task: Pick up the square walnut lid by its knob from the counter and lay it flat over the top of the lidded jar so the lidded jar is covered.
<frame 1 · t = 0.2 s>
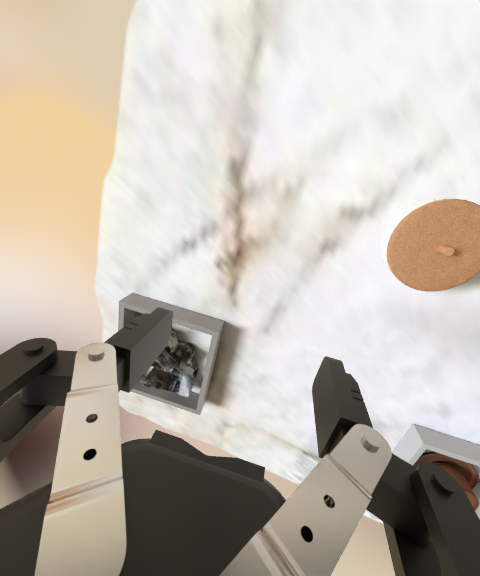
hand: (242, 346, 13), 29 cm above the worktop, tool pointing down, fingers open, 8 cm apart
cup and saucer: (435, 466, 50), on the worktop
foil frame: (171, 350, 51), on the worktop
lidded jar: (410, 237, 35), on the worktop
foil: (171, 349, 52), on the worktop
grey square tray: (436, 468, 49), on the worktop
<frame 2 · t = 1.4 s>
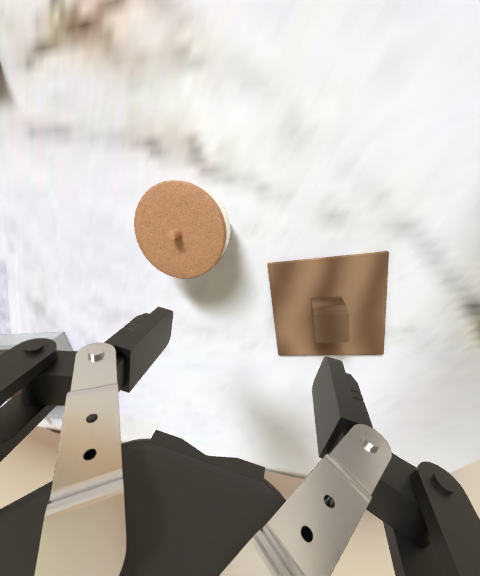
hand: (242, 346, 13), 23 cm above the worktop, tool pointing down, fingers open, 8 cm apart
walnut lid: (325, 306, 36), on the worktop
lidded jar: (201, 224, 34), on the worktop
grey square tray: (47, 369, 52), on the worktop
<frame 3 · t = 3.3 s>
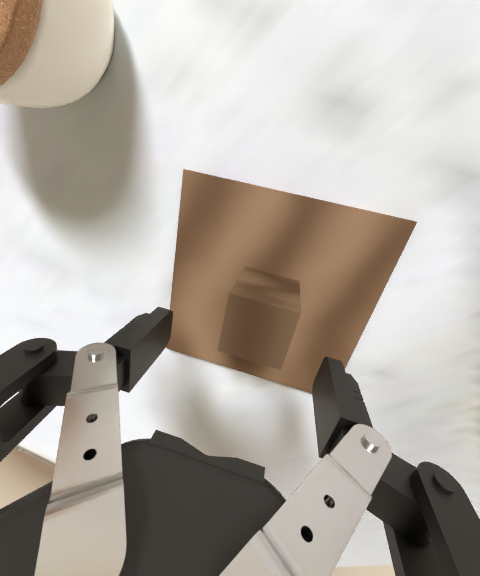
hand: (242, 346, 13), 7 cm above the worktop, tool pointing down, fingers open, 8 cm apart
walnut lid: (267, 291, 20), on the worktop
lidded jar: (72, 29, 15), on the worktop
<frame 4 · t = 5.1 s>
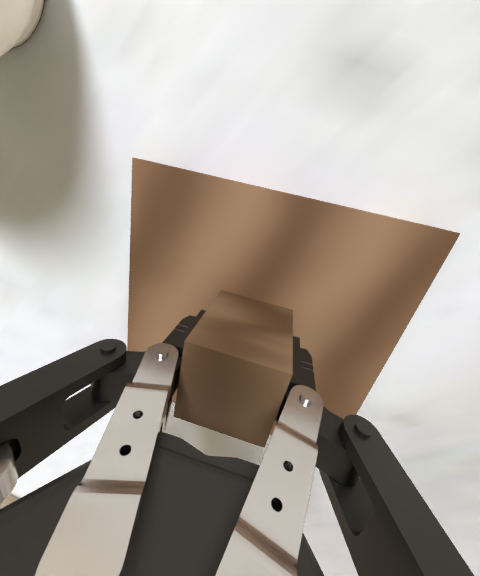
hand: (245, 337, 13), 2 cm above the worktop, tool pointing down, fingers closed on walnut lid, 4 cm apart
walnut lid: (251, 320, 15), on the worktop, touching gripper
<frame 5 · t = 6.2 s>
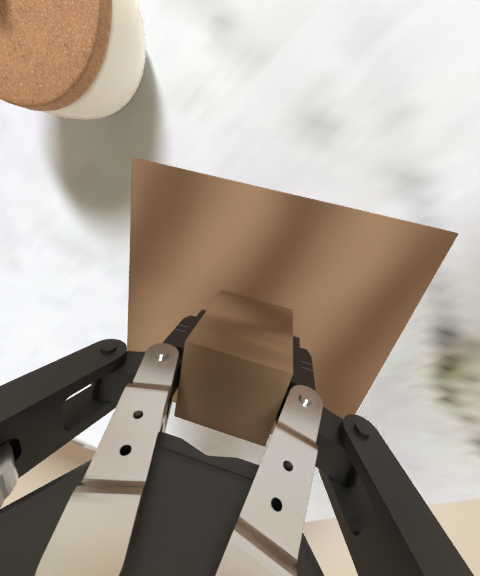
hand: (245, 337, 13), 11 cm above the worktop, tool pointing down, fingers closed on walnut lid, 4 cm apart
walnut lid: (251, 319, 15), point 9 cm above the worktop, touching gripper
lidded jar: (108, 57, 19), on the worktop
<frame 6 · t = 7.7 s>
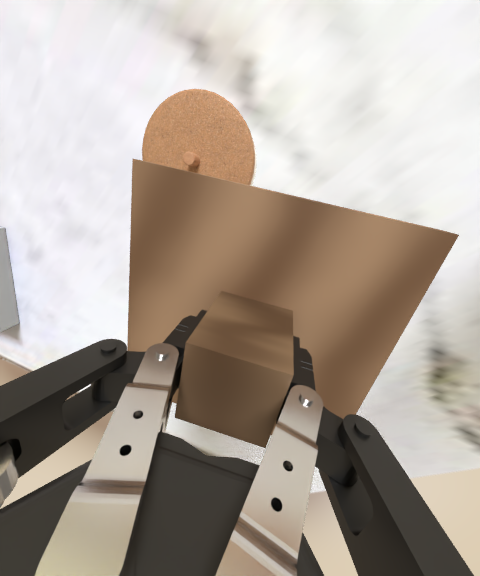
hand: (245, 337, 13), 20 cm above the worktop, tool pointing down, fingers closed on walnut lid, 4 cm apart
walnut lid: (251, 320, 15), point 18 cm above the worktop, touching gripper
lidded jar: (219, 168, 30), on the worktop
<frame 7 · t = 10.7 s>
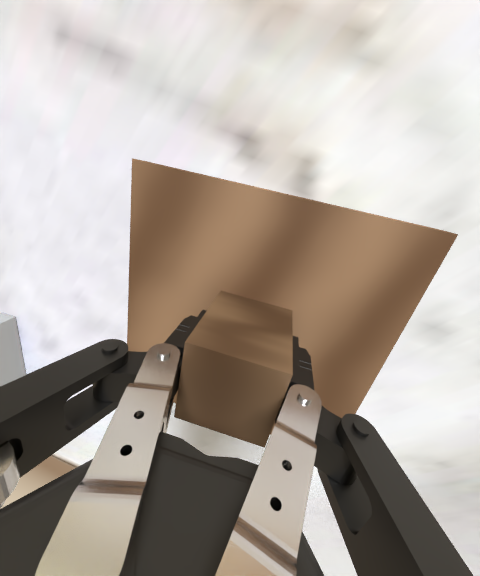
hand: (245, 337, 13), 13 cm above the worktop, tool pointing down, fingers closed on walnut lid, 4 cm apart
walnut lid: (251, 320, 15), point 11 cm above the worktop, touching gripper
when the fingers open (13 cm above the worktop, at t = 10.8 s): walnut lid drops 1 cm, resting on lidded jar.
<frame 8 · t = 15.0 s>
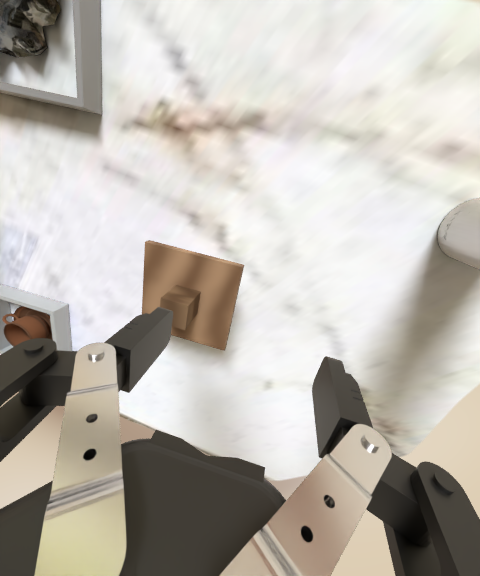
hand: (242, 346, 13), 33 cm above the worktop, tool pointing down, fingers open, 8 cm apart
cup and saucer: (43, 323, 62), on the worktop
foil frame: (40, 30, 38), on the worktop
walnut lid: (189, 296, 40), point 9 cm above the worktop, touching lidded jar
foil: (30, 10, 38), on the worktop
grey square tray: (39, 325, 62), on the worktop
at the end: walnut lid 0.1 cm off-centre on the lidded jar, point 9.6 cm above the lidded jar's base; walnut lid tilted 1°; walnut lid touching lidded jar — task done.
